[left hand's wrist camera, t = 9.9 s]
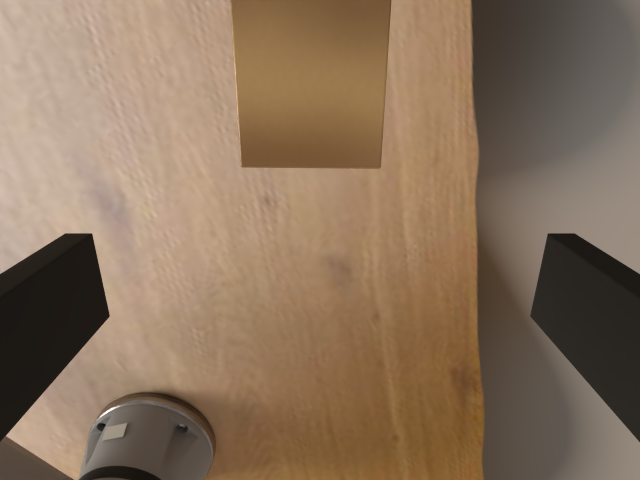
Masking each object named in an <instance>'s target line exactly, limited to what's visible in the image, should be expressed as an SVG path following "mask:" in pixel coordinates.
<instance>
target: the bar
mask: <svg viewBox="0 0 640 480" xmlns="http://www.w3.org/2000/svg"><path fill="white" fill-rule="evenodd" d="M230 4H231V20H232V36H233V51H234V67H235V83H236V98H237V114H238V130H239V145H240V161H241V167H256V168H362V169H379V168H381V155H382V139H383V123H384V107H385V92H386V76H387V60H388V44H389V28H390V12H391V0H230Z"/></svg>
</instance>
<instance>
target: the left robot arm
mask: <svg viewBox="0 0 640 480" xmlns="http://www.w3.org/2000/svg"><path fill="white" fill-rule="evenodd" d="M109 316H110V315H109V311H108V306H107V301H106V297H105V292H104V287H103V283H102V278H101V273H100V269H99V264H98V259H97V254H96V250H95V245H94V240H93V236H92V234H64V235H62V236H61V237H59V238H58V239H56V240H54V241H53V242H51V243H50V244H48V245H46V246H45V247H43V248H42V249H40V250H38V251H37V252H35V253H33V254H32V255H30V256H29V257H27V258H25V259H24V260H22V261H21V262H19V263H17V264H16V265H14V266H13V267H11V268H9V269H8V270H6V271H5V272H3V273H1V274H0V480H73V479H72V478H70V477H69V476H67V475H66V474H64V473H62V472H61V471H59V470H58V469H56V468H54V467H53V466H51V465H50V464H48V463H47V462H45V461H44V460H42V459H40V458H39V457H37V456H36V455H34V454H33V453H31V452H30V451H28V450H26V449H25V448H23V447H22V446H20V445H19V444H17V443H16V442H14V441H13V440H11V439H9V438H8V437H6V435H7V434H8V433H9V431H10V430H11V429H12V428H13V427H14V426H15V424H16V423H17V422H18V421H19V420H20V419H21V418H22V416H23V415H24V414H25V413H26V412H27V411H28V410H29V408H30V407H31V406H32V405H33V404H34V403H35V401H36V400H37V399H38V398H39V397H40V396H41V395H42V393H43V392H44V391H45V390H46V389H47V388H48V387H49V385H50V384H51V383H52V382H53V381H54V380H55V379H56V377H57V376H58V375H59V374H60V373H61V372H62V370H63V369H64V368H65V367H66V366H67V365H68V364H69V362H70V361H71V360H72V359H73V358H74V357H75V356H76V354H77V353H78V352H79V351H80V350H81V349H82V347H83V346H84V345H85V344H86V343H87V342H88V341H89V339H90V338H91V337H92V336H93V335H94V334H95V333H96V331H97V330H98V329H99V328H100V327H101V326H102V324H103V323H104V322H105V321H106V320H107V319H108V318H109ZM530 316H531V318H532V319H533V320H534V321H535V322H536V323H537V324H538V326H539V327H540V328H541V329H542V330H543V331H544V333H545V334H546V335H547V336H548V337H549V338H550V339H551V341H552V342H553V343H554V344H555V345H556V346H557V347H558V349H559V350H560V351H561V352H562V353H563V354H564V356H565V357H566V358H567V359H568V360H569V361H570V362H571V363H572V365H573V366H574V367H575V368H576V369H577V370H578V372H579V373H580V374H581V375H582V376H583V377H584V379H585V380H586V381H587V382H588V383H589V384H590V385H591V386H592V388H593V389H594V390H595V391H596V392H597V393H598V395H599V396H600V397H601V398H602V399H603V400H604V401H605V403H606V404H607V405H608V406H609V407H610V408H611V410H612V411H613V412H614V413H615V414H616V415H617V416H618V418H619V419H620V420H621V421H622V422H623V423H624V424H625V426H626V427H627V428H628V429H629V430H630V431H631V433H632V434H633V435H634V436H635V437H636V438H637V439H638V441H639V442H640V274H638V273H637V272H635V271H634V270H632V269H631V268H629V267H627V266H626V265H624V264H622V263H621V262H619V261H618V260H616V259H614V258H613V257H611V256H610V255H608V254H606V253H605V252H603V251H602V250H600V249H598V248H597V247H595V246H594V245H592V244H590V243H589V242H587V241H586V240H584V239H582V238H581V237H579V236H578V235H576V234H548V236H547V241H546V245H545V250H544V254H543V259H542V264H541V269H540V273H539V278H538V283H537V287H536V292H535V297H534V301H533V306H532V311H531V315H530ZM215 450H216V441H215V436H214V433H213V430H212V428H211V427H210V425H209V423H208V422H207V421H206V419H205V418H204V417H203V416H202V415H201V414H200V413H199V412H198V411H196V410H195V409H194V408H192V407H191V406H189V405H188V404H186V403H184V402H182V401H180V400H177V399H175V398H172V397H168V396H165V395H160V394H150V393H141V394H133V395H128V396H125V397H122V398H119V399H117V400H115V401H113V402H112V403H110V404H109V405H108V406H107V407H105V409H104V410H103V411H102V412H101V413H100V415H99V416H98V418H97V419H96V421H95V423H94V424H93V426H92V428H91V430H90V432H89V436H88V440H87V445H86V449H85V453H84V458H83V462H82V467H81V471H80V475H79V479H78V480H204V478H205V477H206V475H207V474H208V472H209V470H210V468H211V465H212V461H213V458H214V454H215Z"/></svg>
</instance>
